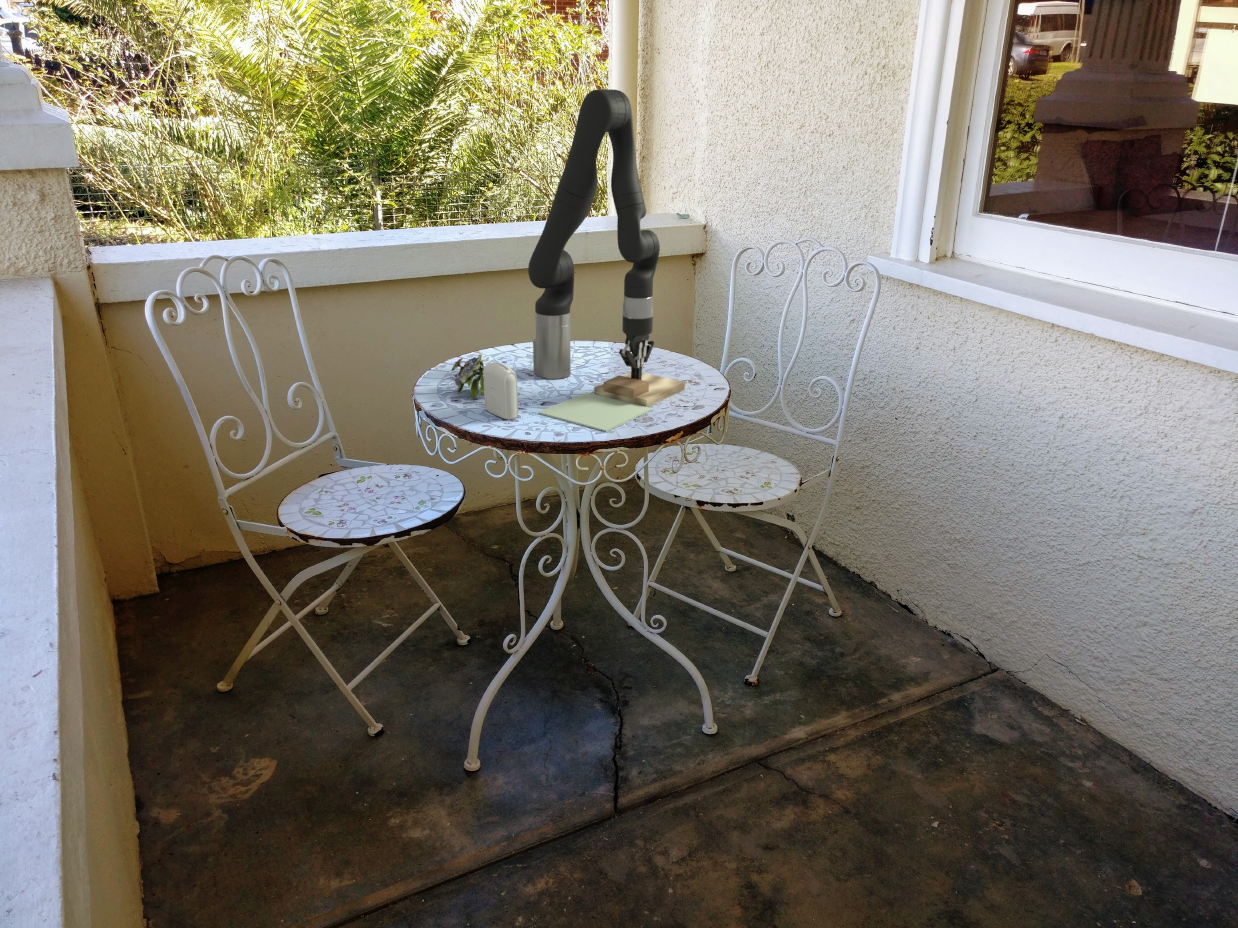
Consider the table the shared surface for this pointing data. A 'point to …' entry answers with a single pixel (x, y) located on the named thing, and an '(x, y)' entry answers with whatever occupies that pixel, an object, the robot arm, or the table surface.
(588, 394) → the sage mat
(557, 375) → the robot arm
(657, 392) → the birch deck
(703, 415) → the table surface
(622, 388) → the walnut slab
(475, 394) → the passion flower
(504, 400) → the photo printer
